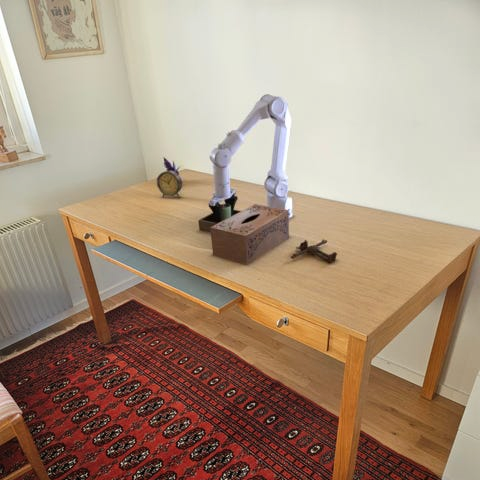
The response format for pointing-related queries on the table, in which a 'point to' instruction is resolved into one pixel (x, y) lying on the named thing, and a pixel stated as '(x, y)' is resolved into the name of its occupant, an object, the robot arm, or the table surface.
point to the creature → (171, 166)
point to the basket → (209, 222)
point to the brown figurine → (315, 251)
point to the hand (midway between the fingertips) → (224, 218)
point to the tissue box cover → (250, 233)
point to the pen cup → (226, 211)
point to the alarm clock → (169, 182)
